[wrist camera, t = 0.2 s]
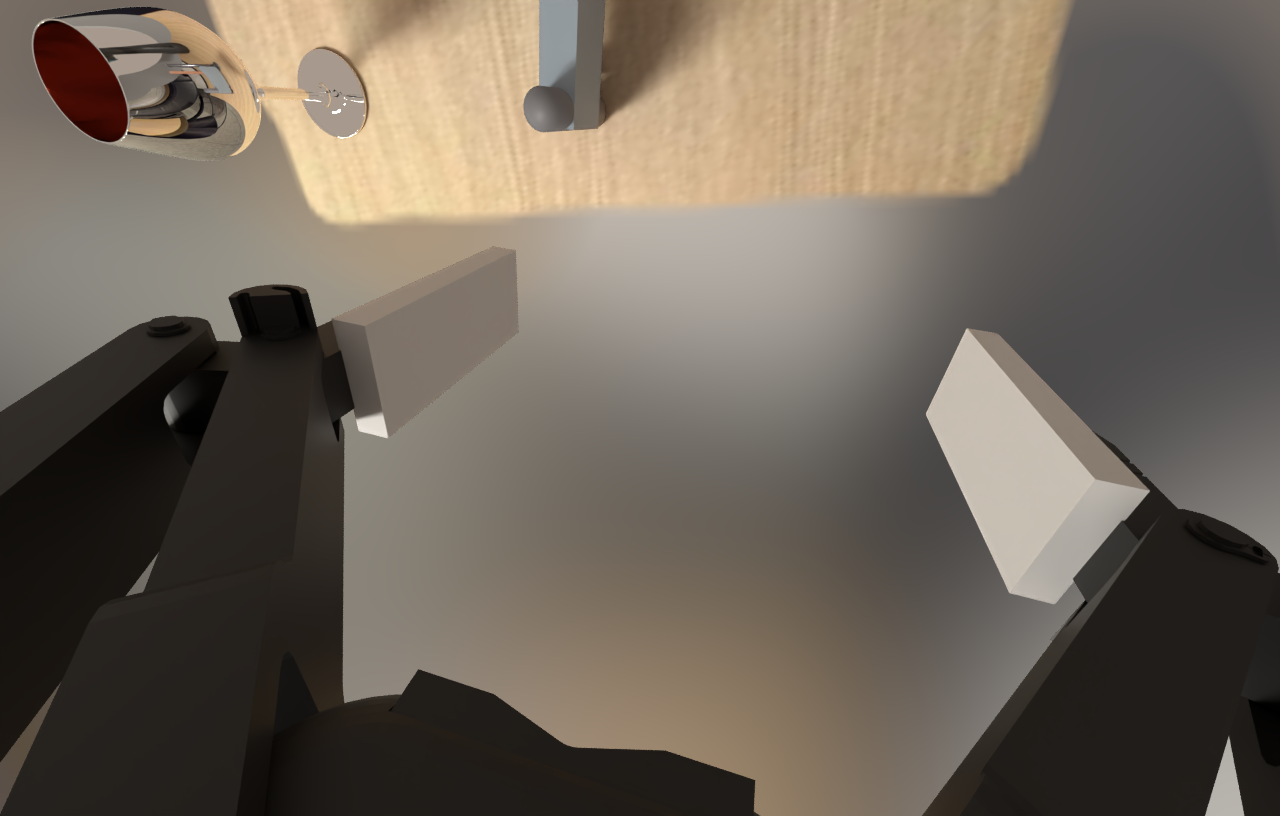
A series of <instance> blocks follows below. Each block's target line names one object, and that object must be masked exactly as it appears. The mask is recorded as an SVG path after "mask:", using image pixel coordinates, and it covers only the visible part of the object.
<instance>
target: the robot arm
mask: <svg viewBox="0 0 1280 816" xmlns="http://www.w3.org/2000/svg"><path fill="white" fill-rule="evenodd" d="M229 301H230V304H231V307H232V309H233V312H234V315H235V318H236V321H237V324H238V326H239V329H240V332H241V335H242V338H241V341H240V342H229V341H216V338H215V335H214V333H213V330H212V328H211V325H210V323H209V322H208V321H207V320H205V319H201V318H197V317H176V316H165V317H159V318H155V319H152V320H151V321H150V322H146V323H142V324H139V325H137V326H135V327H133V328H131V329H129V330H127V331H126V332H124V333H123V334H121V335H119V336H118V337H116V338H115V339H113V340H112V341H110V342H109V343H107V344H105V345H104V346H102V347H101V348H99V349H98V350H96V351H95V352H93V353H91V354H90V355H88V356H87V357H85V358H84V359H82V360H81V361H79V362H77V363H76V364H74V365H73V366H71V367H70V368H68V369H67V370H65V371H63V372H62V373H60V374H59V375H57V376H56V377H54V378H53V379H51V380H50V381H48V382H46V383H45V384H43V385H42V386H40V387H38V388H37V389H35V390H34V391H32V392H31V393H29V394H28V395H26V396H24V397H23V398H21V399H20V400H18V401H17V402H15V403H14V404H12V405H11V406H9V407H7V408H6V409H4V410H3V411H1V412H0V762H1V761H2V759H3V758H4V757H5V755H6V754H7V753H8V751H9V750H10V749H11V747H12V746H13V745H14V743H15V742H16V741H17V739H18V738H19V737H20V735H21V734H22V733H23V731H24V730H25V729H26V727H27V726H28V725H29V723H30V722H31V721H32V719H33V718H34V717H35V716H36V714H37V713H38V711H39V710H40V709H41V707H42V706H43V705H44V704H45V702H46V701H47V699H48V698H49V697H50V696H51V694H52V693H53V692H54V690H55V689H56V687H57V686H58V685H59V684H60V682H61V681H62V682H61V684H60V686H59V688H58V690H57V693H56V695H55V697H54V699H53V701H52V703H51V705H50V708H49V710H48V712H47V714H46V716H45V719H44V721H43V723H42V725H41V727H40V729H39V732H38V734H37V736H36V738H35V740H34V742H33V745H32V747H31V749H30V751H29V753H28V755H27V757H26V760H25V762H24V764H23V766H22V768H21V770H20V773H19V775H18V777H17V779H16V781H15V783H14V785H13V788H12V790H11V792H10V794H9V797H8V798H7V801H6V803H5V805H4V807H3V809H2V811H1V814H0V816H759V815H758V814H757V813H755V812H754V793H755V780H753V779H750V778H747V777H744V776H741V775H738V774H735V773H732V772H729V771H726V770H723V769H719V768H717V767H713V766H710V765H707V764H704V763H701V762H698V761H695V760H692V759H689V758H686V757H683V756H680V755H677V754H674V753H671V752H668V751H660V750H630V749H629V750H628V749H597V748H575V747H571V746H567V745H565V744H563V743H562V742H560V741H559V740H557V739H556V738H554V737H553V736H552V735H550V734H549V733H547V732H546V731H545V730H543V729H542V728H540V727H539V726H538V725H536V724H535V723H533V722H532V721H531V720H529V719H528V718H526V717H525V716H524V715H522V714H521V713H519V712H518V711H516V710H515V709H514V708H512V707H511V706H510V705H508V704H507V703H505V702H504V701H503V700H501V699H500V698H498V697H497V696H496V695H494V694H492V693H489V692H486V691H482V690H479V689H476V688H473V687H470V686H467V685H464V684H461V683H458V682H455V681H452V680H449V679H446V678H443V677H440V676H437V675H433V674H431V673H428V672H425V671H422V670H418V671H417V672H416V674H415V675H414V677H413V678H412V680H411V681H410V683H409V684H408V686H407V687H406V689H405V690H404V692H403V693H402V695H388V696H377V697H370V698H366V699H361V700H356V701H352V702H347V703H344V696H343V548H344V537H343V536H344V428H343V424H342V421H341V417H342V416H344V415H345V414H347V413H348V412H350V411H351V410H352V409H354V413H355V417H356V421H357V425H358V429H359V431H361V432H365V433H369V434H373V435H378V436H381V437H385V438H389V437H390V436H392V435H393V434H394V433H395V432H396V431H398V430H399V429H400V428H401V427H403V426H404V425H405V424H406V423H407V422H409V421H410V420H411V419H413V418H414V417H415V416H416V415H417V414H419V413H420V412H421V411H422V410H423V409H424V408H426V407H427V406H428V405H430V404H431V403H432V402H433V401H435V400H436V399H437V398H438V397H439V396H441V395H442V394H443V393H444V392H446V391H447V390H448V389H449V388H451V387H452V386H453V385H454V384H456V383H457V382H458V381H459V380H460V379H462V378H463V377H464V376H465V375H467V374H468V373H469V372H470V371H472V370H473V369H474V368H475V367H476V366H478V365H479V364H480V363H481V362H482V361H484V360H485V359H486V358H487V357H489V356H490V355H491V354H492V353H494V352H495V351H496V350H497V349H499V348H500V347H501V346H502V345H503V344H505V343H506V342H507V341H508V340H510V339H511V338H512V337H513V336H515V335H516V334H517V333H518V332H519V330H518V304H517V303H518V302H517V272H516V250H510V249H505V248H499V247H491V248H489V249H486V250H484V251H482V252H480V253H478V254H475V255H473V256H471V257H469V258H466V259H464V260H462V261H460V262H457V263H455V264H453V265H451V266H448V267H447V268H444V269H442V270H440V271H438V272H436V273H433V274H431V275H429V276H426V277H424V278H422V279H420V280H417V281H415V282H413V283H411V284H409V285H406V286H404V287H402V288H400V289H397V290H395V291H393V292H391V293H388V294H386V295H384V296H382V297H379V298H377V299H375V300H373V301H371V302H369V303H366V304H364V305H362V306H359V307H357V308H355V309H353V310H351V311H348V312H346V313H344V314H342V315H339V316H337V317H335V318H333V319H332V321H330V322H328V323H326V324H323V325H321V326H319V327H317V326H316V322H315V318H314V314H313V311H312V307H311V303H310V299H309V295H308V293H307V291H306V289H304V288H301V287H299V286H292V285H264V286H256V287H251V288H246V289H243V290H240V291H238V292H235V293H233V294H232V295H231V296H230V297H229ZM926 416H927V418H928V420H929V422H930V424H931V426H932V428H933V431H934V433H935V434H936V437H937V439H938V441H939V443H940V445H941V448H942V450H943V452H944V454H945V456H946V458H947V460H948V462H949V465H950V467H951V469H952V471H953V473H954V475H955V477H956V479H957V482H958V484H959V486H960V488H961V490H962V492H963V494H964V497H965V499H966V501H967V503H968V505H969V507H970V509H971V512H972V514H973V516H974V518H975V520H976V522H977V524H978V527H979V529H980V531H981V533H982V535H983V537H984V539H985V541H986V544H987V546H988V548H989V550H990V552H991V554H992V556H993V559H994V561H995V563H996V565H997V567H998V569H999V571H1000V574H1001V576H1002V578H1003V580H1004V582H1005V584H1006V586H1007V588H1008V591H1009V593H1012V594H1016V595H1020V596H1024V597H1028V598H1032V599H1036V600H1040V601H1044V602H1048V603H1052V604H1055V603H1056V602H1057V601H1058V600H1059V598H1060V597H1061V596H1062V595H1063V594H1064V592H1065V591H1066V590H1067V589H1068V588H1069V586H1070V585H1071V584H1072V583H1073V582H1075V584H1076V585H1077V587H1078V588H1079V590H1080V591H1081V593H1082V595H1083V596H1084V598H1085V601H1084V602H1083V603H1082V604H1081V605H1080V606H1079V608H1078V609H1077V610H1076V611H1075V612H1074V613H1073V614H1072V615H1071V617H1070V618H1069V619H1068V620H1067V621H1066V622H1065V623H1064V624H1063V626H1062V627H1061V628H1060V629H1059V630H1058V631H1057V632H1056V634H1055V635H1054V636H1053V637H1052V638H1051V640H1052V643H1051V644H1050V645H1049V647H1048V648H1047V649H1046V651H1045V652H1044V653H1043V655H1042V656H1041V657H1040V659H1039V660H1038V661H1037V663H1036V664H1035V665H1034V667H1033V668H1032V670H1031V671H1030V672H1029V673H1028V675H1027V676H1026V677H1025V679H1024V680H1023V681H1022V683H1021V684H1020V685H1019V687H1018V688H1017V689H1016V691H1015V692H1014V693H1013V695H1012V696H1011V697H1010V699H1009V700H1008V701H1007V703H1006V704H1005V705H1004V707H1003V708H1002V709H1001V711H1000V712H999V713H998V715H997V716H996V717H995V719H994V720H993V721H992V723H991V724H990V726H989V727H988V728H987V730H986V731H985V732H984V734H983V735H982V736H981V738H980V739H979V740H978V742H977V743H976V744H975V746H974V747H973V748H972V750H971V751H970V752H969V754H968V755H967V756H966V758H965V759H964V760H963V762H962V763H961V764H960V766H959V767H958V768H957V770H956V771H955V772H954V774H953V775H952V777H951V778H950V779H949V781H948V782H947V783H946V784H945V786H944V787H943V789H942V790H941V791H940V792H939V794H938V795H937V797H936V798H935V799H934V800H933V802H932V803H931V804H930V806H929V807H928V809H927V810H926V811H925V813H924V814H923V815H922V816H1205V814H1206V810H1207V807H1208V804H1209V800H1210V797H1211V793H1212V790H1213V787H1214V783H1215V780H1216V777H1217V773H1218V770H1219V767H1220V763H1221V760H1222V756H1223V753H1224V750H1225V747H1226V743H1227V740H1228V737H1229V738H1230V742H1231V748H1232V753H1233V758H1234V764H1235V769H1236V774H1237V779H1238V784H1239V790H1240V795H1241V800H1242V805H1243V811H1244V816H1280V573H1278V569H1279V567H1278V564H1277V560H1276V559H1275V557H1274V556H1273V555H1272V554H1271V553H1270V552H1269V551H1268V550H1267V549H1266V548H1265V547H1264V546H1263V545H1261V544H1260V543H1258V542H1257V541H1255V540H1254V539H1253V538H1251V537H1250V536H1248V535H1247V534H1245V533H1243V532H1241V531H1239V530H1238V529H1236V528H1234V527H1232V526H1231V525H1229V524H1226V523H1224V522H1222V521H1219V520H1217V519H1214V518H1212V517H1209V516H1207V515H1204V514H1201V513H1197V512H1193V511H1189V510H1185V509H1178V508H1177V507H1176V506H1175V505H1174V504H1172V502H1171V501H1170V500H1168V498H1167V497H1166V496H1165V495H1164V494H1163V493H1162V492H1160V490H1159V489H1158V488H1157V487H1156V486H1154V484H1153V483H1152V482H1151V481H1149V479H1148V478H1147V477H1144V476H1142V475H1143V473H1142V472H1141V471H1140V470H1139V469H1138V468H1137V467H1136V466H1135V465H1134V464H1131V463H1129V462H1130V460H1129V459H1128V458H1127V457H1126V456H1125V455H1124V454H1123V453H1122V452H1121V451H1120V450H1119V449H1118V448H1117V447H1116V446H1115V445H1113V444H1112V443H1110V442H1109V441H1107V440H1105V439H1104V438H1103V437H1101V436H1099V435H1098V434H1096V433H1095V432H1093V431H1092V430H1090V429H1089V427H1088V426H1087V425H1086V424H1085V423H1084V422H1082V420H1081V419H1080V418H1079V417H1078V416H1077V415H1076V414H1075V413H1074V412H1073V411H1072V410H1071V409H1070V408H1069V407H1068V406H1067V405H1066V404H1065V403H1064V402H1063V401H1062V400H1061V399H1060V398H1059V396H1058V395H1057V394H1056V393H1055V392H1054V391H1052V389H1051V388H1050V387H1049V386H1048V385H1047V384H1046V383H1045V382H1044V381H1043V380H1042V379H1041V378H1040V377H1039V376H1038V375H1037V374H1036V373H1035V372H1034V371H1033V370H1032V369H1031V368H1030V367H1029V366H1028V364H1027V363H1026V362H1025V361H1024V360H1023V359H1022V358H1021V357H1020V356H1019V355H1018V354H1017V353H1016V352H1015V351H1014V350H1013V349H1012V348H1011V347H1010V346H1009V345H1008V344H1007V343H1006V342H1005V341H1004V340H1003V339H1002V338H1001V337H1000V336H999V335H998V334H997V333H991V332H985V331H979V330H973V329H966V331H965V334H964V335H963V338H962V340H961V342H960V344H959V346H958V348H957V350H956V352H955V354H954V356H953V358H952V361H951V363H950V365H949V367H948V369H947V371H946V373H945V375H944V377H943V380H942V382H941V384H940V386H939V388H938V390H937V392H936V394H935V396H934V398H933V400H932V402H931V405H930V407H929V409H928V411H927V413H926ZM158 552H159V553H158ZM157 554H158V556H157V558H156V561H155V564H154V566H153V569H152V571H151V574H150V577H149V579H148V582H147V584H146V587H145V589H144V591H143V592H142V593H138V594H134V595H130V596H126V595H127V593H128V592H129V591H130V589H131V588H132V587H133V585H134V584H135V583H136V581H137V580H138V579H139V577H140V576H141V575H142V573H143V572H144V571H145V570H146V568H147V567H148V565H149V564H150V563H151V562H152V560H153V559H154V558H155V556H156V555H157Z"/></svg>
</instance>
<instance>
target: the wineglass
mask: <svg viewBox="0 0 1280 816" xmlns="http://www.w3.org/2000/svg"><path fill="white" fill-rule="evenodd" d="M32 51H33V57H34V61H35V65H36V68H37V71H38V74H39V76H40V78H41V81H42V83H43V85H44V87H45V88H46V90H47V92H48V94H49V95H50V97H51V99H52V100H53V101H54V103H55V104H56V106H57V107H58V108H59V110H60V111H61V112H62V113H63V114H64V116H65V117H66V118H67V119H68V120H69V121H70V122H71V123H72V124H73V125H74V126H75V127H76V128H77V129H79V130H80V131H81V132H83V133H84V134H85V135H87V136H88V137H90V138H92V139H94V140H96V141H98V142H101V143H105V144H110V145H115V146H120V147H125V148H130V149H135V150H140V151H145V152H150V153H155V154H160V155H166V156H172V157H178V158H184V159H191V160H200V161H217V160H223V159H228V158H231V157H233V156H235V155H237V154H239V153H240V152H242V151H243V150H244V149H245V148H247V147H248V146H249V144H250V143H251V142H252V140H253V139H254V137H255V135H256V133H257V131H258V128H259V124H260V119H261V103H260V101H261V100H263V99H282V100H302V102H303V104H304V107H305V109H306V110H307V112H308V114H309V115H310V117H311V118H312V120H313V121H314V122H315V123H316V124H317V125H318V126H319V127H320V128H321V129H322V130H323V131H325V132H326V133H328V134H330V135H332V136H334V137H338V138H349V137H352V136H354V135H356V134H357V133H358V132H359V131H360V130H361V129H362V127H363V125H364V123H365V120H366V114H367V103H366V97H365V93H364V89H363V86H362V84H361V82H360V80H359V78H358V76H357V74H356V73H355V71H354V70H353V68H352V67H351V66H350V65H349V63H348V62H347V61H346V60H344V59H343V58H342V57H341V56H339V55H338V54H336V53H334V52H332V51H330V50H326V49H315V50H312V51H310V52H308V53H307V54H306V55H305V56H304V57H303V59H302V61H301V63H300V65H299V69H298V88H299V89H298V88H280V87H265V86H258V85H257V84H255V83H254V81H253V79H252V77H251V75H250V73H249V71H248V70H247V68H246V67H245V65H244V64H243V62H242V61H241V60H240V59H239V57H238V56H237V55H236V54H235V53H234V51H233V50H232V49H231V48H230V47H229V46H228V45H227V44H226V43H225V42H224V41H223V40H221V39H220V38H219V37H218V36H217V35H216V34H214V33H213V32H212V31H210V30H209V29H208V28H206V27H205V26H203V25H202V24H200V23H198V22H197V21H195V20H193V19H191V18H189V17H187V16H185V15H182V14H180V13H177V12H174V11H171V10H167V9H163V8H157V7H124V8H114V9H107V10H99V11H92V12H85V13H79V14H73V15H67V16H61V17H55V18H49V19H45V20H42V21H41V22H39V23H38V24H37V26H36V27H35V29H34V32H33V36H32Z"/></svg>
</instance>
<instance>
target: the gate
mask: <svg viewBox="0 0 1280 816" xmlns="http://www.w3.org/2000/svg"><path fill="white" fill-rule="evenodd" d="M604 15H605V0H540V5H539V86H536V87H533V88H532V89H530V90H529V91H528V93H527V94H526V96H525V99H524V114H525V117H526V119H527V121H528V123H529V124H530V125H531V126H532V127H533V128H534V129H535V130H537V131H540V132H554V131H569V130H584V129H597V128H598V127H599V126H600V125H601V124H602V123H603V121H604V119H605V116H606V107H605V103H604V101H603V99H602V98H601V97H600V84H601V69H602V49H603V32H604Z"/></svg>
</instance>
